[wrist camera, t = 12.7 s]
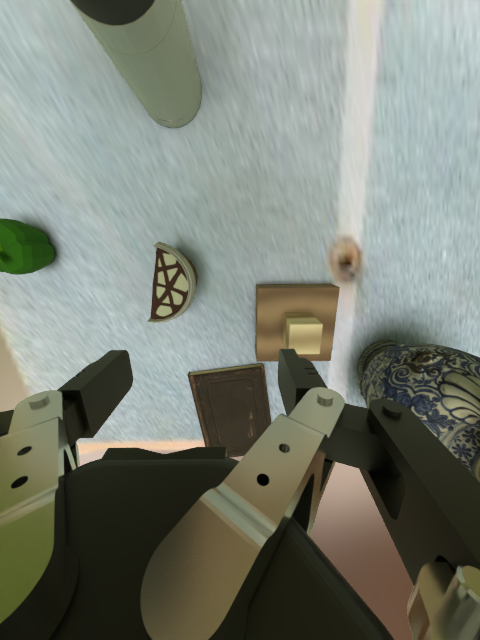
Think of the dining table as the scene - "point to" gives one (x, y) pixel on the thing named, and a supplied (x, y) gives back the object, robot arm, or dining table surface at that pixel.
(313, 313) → the block
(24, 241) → the bell pepper
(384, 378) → the decorative vase
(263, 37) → the dining table surface
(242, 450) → the hardcover book
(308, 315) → the maple block
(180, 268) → the half round tub
